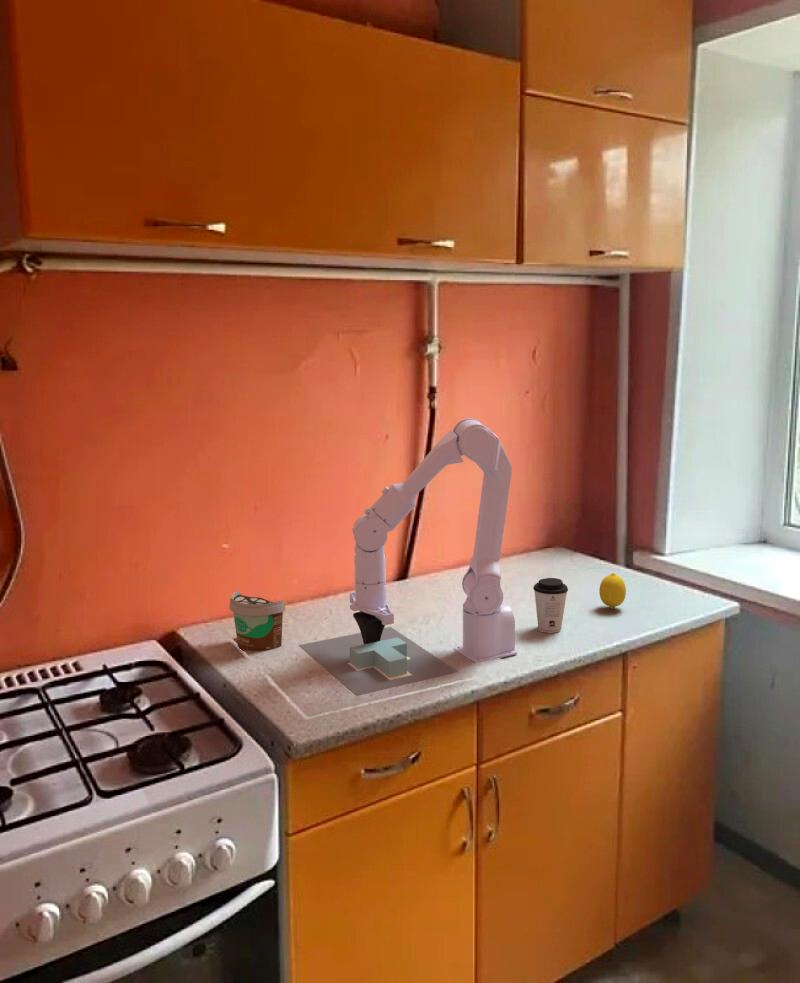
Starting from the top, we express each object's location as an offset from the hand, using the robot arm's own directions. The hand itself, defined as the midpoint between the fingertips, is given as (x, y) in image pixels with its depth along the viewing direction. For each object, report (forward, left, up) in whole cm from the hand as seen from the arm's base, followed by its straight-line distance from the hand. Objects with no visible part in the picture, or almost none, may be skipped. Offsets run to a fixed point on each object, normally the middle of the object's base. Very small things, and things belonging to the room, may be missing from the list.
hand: (371, 649), depth 166 cm
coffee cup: (-38, +4, -2) cm, 38 cm away
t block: (0, +6, -1) cm, 6 cm away
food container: (+18, -16, -2) cm, 24 cm away
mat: (0, +1, -2) cm, 2 cm away
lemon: (-57, +1, -2) cm, 57 cm away
